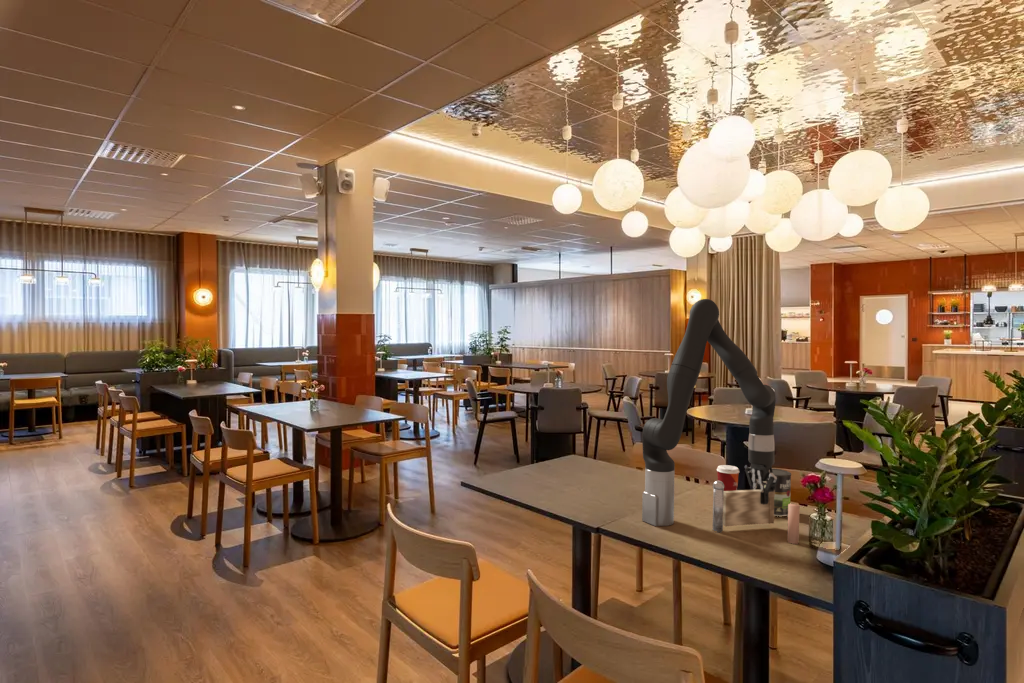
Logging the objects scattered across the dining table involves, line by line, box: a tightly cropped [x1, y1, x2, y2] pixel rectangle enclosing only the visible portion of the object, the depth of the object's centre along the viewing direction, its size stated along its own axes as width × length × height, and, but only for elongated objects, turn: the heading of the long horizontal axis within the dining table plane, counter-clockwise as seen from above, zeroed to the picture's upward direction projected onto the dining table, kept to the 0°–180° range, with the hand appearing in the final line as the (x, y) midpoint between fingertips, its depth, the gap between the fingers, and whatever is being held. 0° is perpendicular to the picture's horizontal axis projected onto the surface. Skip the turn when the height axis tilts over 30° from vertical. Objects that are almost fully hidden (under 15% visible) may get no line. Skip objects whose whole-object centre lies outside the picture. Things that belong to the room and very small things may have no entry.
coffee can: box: [764, 467, 792, 518], centre depth 192 cm, size 10×10×14 cm
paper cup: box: [716, 464, 740, 501], centre depth 198 cm, size 8×8×14 cm
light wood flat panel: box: [723, 489, 775, 527], centre depth 176 cm, size 17×2×10 cm, turn 101°
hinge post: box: [712, 479, 724, 533], centre depth 174 cm, size 3×3×16 cm
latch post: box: [787, 503, 801, 545], centre depth 165 cm, size 3×3×11 cm
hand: (761, 502), depth 177 cm, fingers closed on light wood flat panel, 2 cm apart
